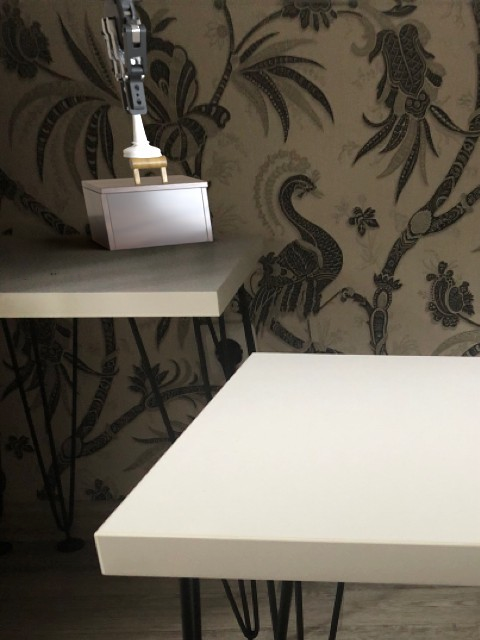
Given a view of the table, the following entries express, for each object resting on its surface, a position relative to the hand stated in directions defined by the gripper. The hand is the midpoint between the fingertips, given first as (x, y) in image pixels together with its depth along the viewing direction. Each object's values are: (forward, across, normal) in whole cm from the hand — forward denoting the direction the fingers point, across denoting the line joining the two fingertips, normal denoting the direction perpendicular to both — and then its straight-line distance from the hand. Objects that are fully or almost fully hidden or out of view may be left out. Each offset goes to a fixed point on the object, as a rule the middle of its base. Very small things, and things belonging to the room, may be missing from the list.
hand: (135, 113), depth 120 cm
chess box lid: (+10, -15, +3) cm, 19 cm away
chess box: (+19, -16, +3) cm, 25 cm away
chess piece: (+5, 0, 0) cm, 5 cm away
